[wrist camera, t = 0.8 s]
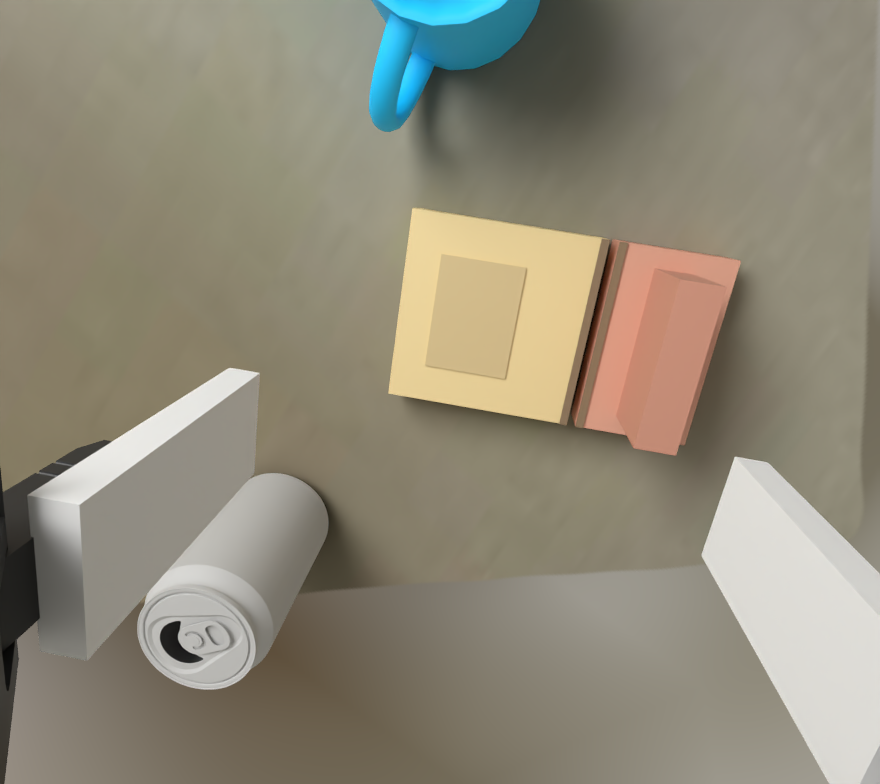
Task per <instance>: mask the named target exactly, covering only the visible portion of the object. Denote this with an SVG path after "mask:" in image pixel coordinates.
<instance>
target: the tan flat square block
mask: <svg viewBox="0 0 880 784" xmlns="http://www.w3.org/2000/svg"><path fill="white" fill-rule="evenodd" d="M609 243H610V240H609V239H606V238H603V237H597V236H591V235H584V234H578V233H572V232H566V231H560V230H553V229H547V228H541V227H535V226H529V225H522V224H516V223H510V222H504V221H497V220H491V219H485V218H479V217H473V216H466V215H460V214H454V213H448V212H442V211H435V210H429V209H423V208H413V209H412V216H411V224H410V232H409V239H408V247H407V255H406V262H405V270H404V278H403V285H402V293H401V301H400V308H399V316H398V323H397V331H396V339H395V346H394V354H393V362H392V369H391V377H390V385H389V392H388V393H389V394H395V395H400V396H406V397H412V398H417V399H423V400H429V401H434V402H440V403H446V404H452V405H457V406H463V407H469V408H474V409H480V410H486V411H492V412H497V413H503V414H509V415H514V416H520V417H526V418H531V419H537V420H543V421H549V422H554V423H559V424H561V425H567V422H568V417H569V413H570V409H571V405H572V400H573V396H574V392H575V388H576V383H577V379H578V375H579V371H580V366H581V362H582V358H583V354H584V349H585V345H586V341H587V337H588V332H589V328H590V324H591V320H592V315H593V311H594V307H595V303H596V298H597V294H598V290H599V286H600V281H601V277H602V273H603V269H604V264H605V260H606V256H607V252H608V247H609Z"/></svg>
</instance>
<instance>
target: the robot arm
mask: <svg viewBox="0 0 880 784" xmlns="http://www.w3.org/2000/svg"><path fill="white" fill-rule="evenodd" d="M259 377H260V373H256V372H251V371H245V370H239V369H233V368H228V369H227V370H225V371H224V372H222V373H220V374H219V375H217V376H216V377H214V378H212V379H211V380H209V381H208V382H206V383H205V384H203V385H201V386H200V387H198V388H197V389H195V390H193V391H192V392H190V393H189V394H187V395H185V396H184V397H182V398H181V399H179V400H178V401H176V402H174V403H173V404H171V405H170V406H168V407H166V408H165V409H163V410H162V411H160V412H158V413H157V414H155V415H154V416H152V417H151V418H149V419H147V420H146V421H144V422H143V423H141V424H139V425H138V426H136V427H135V428H133V429H132V430H130V431H128V432H127V433H125V434H124V435H122V436H120V437H119V438H117V439H116V440H114V441H107V440H103V441H100V442H96V443H93V444H90V445H87V446H83V447H80V448H77V449H75V450H74V451H72V452H70V453H68V454H67V455H65V456H63V457H62V458H60V459H58V460H57V461H56V464H55V463H52V464H50V465H48V466H47V467H45V468H43V469H42V470H40V471H39V474H36V473H35V474H33V475H31V476H30V477H28V478H26V479H25V480H23V481H21V482H20V483H18V484H16V485H15V486H13V487H11V488H10V489H8V490H6V491H4V492H3V491H2V480H1V470H0V784H4V781H5V773H6V763H7V756H8V746H9V738H10V728H11V721H12V712H13V702H14V694H15V685H16V676H17V668H18V659H19V658H18V648H17V639H18V637H20V636H21V635H22V634H23V633H24V632H25V631H26V630H27V629H28V628H30V626H32V625H33V624H34V623H35V622H36V621H38V632H39V646H40V651H41V652H47V653H51V654H56V655H61V656H66V657H71V658H77V659H82V660H88V659H89V658H90V657H91V656H92V655H93V654H94V652H95V651H96V650H97V649H98V648H99V647H100V646H101V645H102V643H103V642H104V641H105V640H106V639H107V638H108V637H109V636H110V634H111V633H112V632H113V631H114V630H115V629H116V628H117V627H118V625H119V624H120V623H121V622H122V621H123V620H124V619H125V618H126V616H127V615H128V614H129V613H130V612H131V611H132V610H133V609H134V607H135V606H136V605H137V604H138V603H139V602H140V601H141V600H142V599H143V597H144V596H145V595H146V594H147V593H148V592H149V591H150V590H151V588H152V587H153V586H154V585H155V584H156V583H157V582H158V581H159V580H160V578H161V577H162V576H163V575H164V574H165V573H166V572H167V571H168V569H169V568H170V567H171V566H172V565H173V564H174V563H175V562H176V560H177V559H178V558H179V557H180V556H181V555H182V554H183V553H184V551H185V550H186V549H187V548H188V547H189V546H190V545H191V544H192V543H193V541H194V540H195V539H196V538H197V537H198V536H199V535H200V534H201V532H202V531H203V530H204V529H205V528H206V527H207V526H208V525H209V523H210V522H211V521H212V520H213V519H214V518H215V517H216V516H217V514H218V513H219V512H220V511H221V510H222V509H223V508H224V507H225V505H226V504H227V503H228V502H229V501H230V500H231V499H232V498H233V497H234V495H235V494H236V493H237V492H238V491H239V490H240V489H241V488H242V486H243V485H244V484H245V483H246V482H247V481H248V480H249V479H250V477H251V476H252V475H253V474H254V466H255V448H256V431H257V413H258V395H259ZM701 556H702V557H703V559H704V561H705V563H706V565H707V566H708V568H709V570H710V572H711V574H712V575H713V577H714V579H715V581H716V582H717V584H718V586H719V588H720V590H721V591H722V593H723V595H724V597H725V599H726V600H727V602H728V604H729V606H730V607H731V609H732V611H733V613H734V615H735V616H736V618H737V620H738V622H739V623H740V625H741V627H742V629H743V631H744V632H745V634H746V636H747V638H748V640H749V641H750V643H751V645H752V647H753V649H754V650H755V652H756V654H757V656H758V657H759V659H760V661H761V663H762V665H763V666H764V668H765V670H766V672H767V674H768V675H769V677H770V679H771V680H772V682H773V684H774V686H775V688H776V689H777V691H778V693H779V695H780V696H781V698H782V700H783V702H784V704H785V706H786V707H787V709H788V711H789V713H790V714H791V716H792V718H793V720H794V722H795V723H796V725H797V727H798V729H799V730H800V732H801V734H802V736H803V738H804V740H805V741H806V743H807V745H808V747H809V749H810V750H811V752H812V754H813V756H814V757H815V759H816V761H817V763H818V764H819V766H820V768H821V770H822V772H823V773H824V775H825V777H826V779H827V781H828V782H829V784H880V574H879V573H878V572H877V571H876V570H875V569H874V568H873V567H872V566H871V565H870V564H869V563H868V562H867V561H866V560H865V559H864V558H863V557H862V556H861V555H860V554H859V553H858V552H857V551H856V550H855V549H854V548H853V547H852V546H851V545H850V544H849V543H848V542H847V541H846V540H845V539H844V538H843V537H842V536H841V535H840V534H839V533H838V532H837V531H836V530H835V529H834V528H833V527H832V526H831V525H830V524H829V523H828V522H827V521H826V520H825V519H824V518H823V517H822V516H821V515H820V514H819V513H818V512H817V511H816V510H815V509H814V508H813V507H812V506H811V505H810V504H809V503H808V502H807V501H806V500H805V499H804V498H803V497H802V496H801V495H800V494H799V493H798V492H797V491H796V490H795V489H794V488H793V487H792V486H791V485H790V484H789V483H788V482H787V481H786V480H785V479H784V478H783V477H782V476H781V475H780V474H779V473H778V472H777V471H776V470H775V469H774V468H773V467H772V466H771V465H770V464H769V463H768V462H763V461H757V460H751V459H746V458H740V457H735V458H734V461H733V464H732V467H731V470H730V473H729V476H728V479H727V482H726V484H725V487H724V490H723V493H722V496H721V499H720V502H719V505H718V508H717V511H716V514H715V517H714V520H713V523H712V526H711V529H710V531H709V534H708V537H707V540H706V543H705V546H704V549H703V552H702V555H701Z"/></svg>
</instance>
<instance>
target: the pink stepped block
mask: <svg viewBox="0 0 880 784" xmlns="http://www.w3.org/2000/svg"><path fill="white" fill-rule="evenodd" d="M740 263H741V261H739V260H735V259H731V258H727V257H721V256H715V255H709V254H702V253H696V252H690V251H684V250H678V249H671V248H665V247H659V246H653V245H646V244H640V243H634V242H628V241H622V240H615V239H613V240H612V244H611V248H610V252H609V257H608V261H607V265H606V269H605V273H604V278H603V282H602V286H601V290H600V295H599V299H598V303H597V307H596V312H595V316H594V320H593V324H592V328H591V333H590V337H589V341H588V345H587V350H586V354H585V358H584V362H583V367H582V371H581V375H580V379H579V383H578V388H577V392H576V396H575V400H574V405H573V409H572V413H571V414H572V417H573V420H574V423H575V426H576V427H579V428H588V429H594V430H600V431H606V432H611V433H617V434H623V435H627V437H628V439H629V441H630V443H631V444H632V446H633V448H635V449H641V450H647V451H652V452H658V453H664V454H669V455H675V456H676V454H677V451H678V447H679V444H680V445H685V443H686V439H687V436H688V433H689V430H690V426H691V423H692V420H693V417H694V413H695V410H696V407H697V403H698V400H699V397H700V394H701V390H702V387H703V384H704V381H705V377H706V374H707V371H708V368H709V364H710V361H711V358H712V354H713V351H714V348H715V345H716V341H717V338H718V335H719V332H720V328H721V325H722V322H723V319H724V315H725V312H726V309H727V305H728V302H729V299H730V296H731V292H732V289H733V286H734V283H735V279H736V276H737V273H738V270H739V266H740Z"/></svg>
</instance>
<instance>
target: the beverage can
mask: <svg viewBox="0 0 880 784" xmlns="http://www.w3.org/2000/svg"><path fill="white" fill-rule="evenodd" d="M328 525H329V521H328V514H327V510H326V508H325V505H324V503H323V501H322V500H321V498H320V496H319V495H318V494H317V493H316V492H315V491H314V490H313V489H312V488H311V487H310V486H309V485H307V484H306V483H305V482H303V481H301V480H299V479H297V478H295V477H292V476H289V475H286V474H280V473H268V474H262V475H258V476H255V477H253V478H251V479H249V480H248V481H247V482H246V483H245V484H244V485H243V486H242V488H241V489H240V490H239V491H238V492H237V493H236V494H235V495H234V497H233V498H232V499H231V500H230V501H229V502H228V503H227V504H226V505H225V507H224V508H223V509H222V510H221V511H220V512H219V513H218V514H217V516H216V517H215V518H214V519H213V520H212V521H211V522H210V523H209V525H208V526H207V527H206V528H205V529H204V530H203V531H202V532H201V534H200V535H199V536H198V537H197V538H196V539H195V540H194V541H193V543H192V544H191V545H190V546H189V547H188V548H187V549H186V550H185V551H184V553H183V554H182V555H181V556H180V557H179V558H178V559H177V560H176V562H175V563H174V564H173V565H172V566H171V567H170V568H169V569H168V571H167V572H166V573H165V574H164V575H163V576H162V577H161V578H160V580H159V581H158V582H157V583H156V584H155V585H154V586H153V587H152V588H151V590H150V591H149V592H148V594H147V597H146V600H145V606H144V607H143V609H142V611H141V613H140V615H139V619H138V639H139V642H140V645H141V648H142V650H143V652H144V653H145V655H146V657H147V658H148V659H149V661H150V662H151V663H152V664H153V665H154V666H155V667H156V668H157V669H158V670H159V671H160V672H161V673H162V674H164V675H165V676H167V677H168V678H170V679H172V680H174V681H175V682H177V683H180V684H182V685H185V686H188V687H192V688H197V689H206V690H207V689H220V688H225V687H227V686H230V685H232V684H234V683H236V682H238V681H239V680H241V679H242V678H243V677H244V676H245V675H246V674H247V673H248V671H249V670H250V669H252V668H253V667H255V666H256V665H257V664H259V663H260V662H261V661H262V660H263V659H264V657H265V656H266V655H267V653H268V651H269V649H270V648H271V646H272V644H273V642H274V640H275V638H276V636H277V634H278V632H279V629H280V628H281V626H282V624H283V622H284V620H285V618H286V616H287V614H288V612H289V610H290V608H291V606H292V604H293V602H294V600H295V598H296V596H297V594H298V592H299V590H300V588H301V587H302V585H303V583H304V581H305V579H306V577H307V575H308V573H309V571H310V569H311V567H312V565H313V563H314V561H315V559H316V557H317V555H318V553H319V551H320V549H321V547H322V545H323V543H324V541H325V539H326V536H327V533H328Z"/></svg>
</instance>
